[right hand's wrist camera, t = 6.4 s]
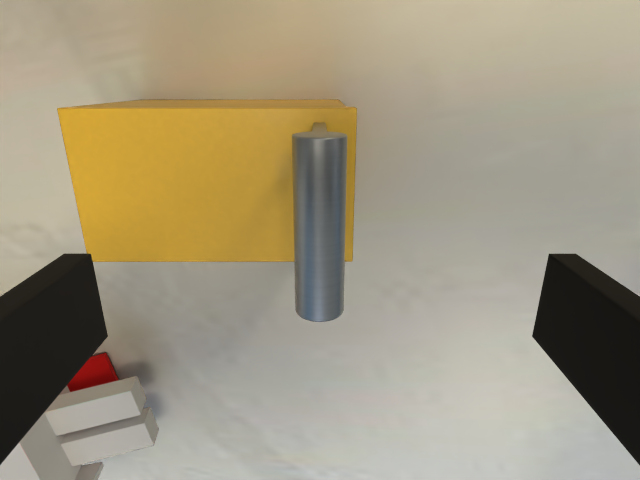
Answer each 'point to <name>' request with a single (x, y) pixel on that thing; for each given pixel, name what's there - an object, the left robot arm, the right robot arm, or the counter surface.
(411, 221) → the counter surface
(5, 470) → the toy
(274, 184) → the yellow block with rod
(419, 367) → the counter surface
